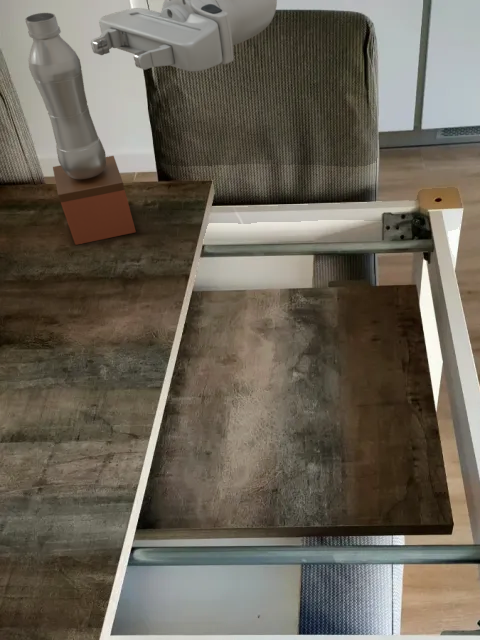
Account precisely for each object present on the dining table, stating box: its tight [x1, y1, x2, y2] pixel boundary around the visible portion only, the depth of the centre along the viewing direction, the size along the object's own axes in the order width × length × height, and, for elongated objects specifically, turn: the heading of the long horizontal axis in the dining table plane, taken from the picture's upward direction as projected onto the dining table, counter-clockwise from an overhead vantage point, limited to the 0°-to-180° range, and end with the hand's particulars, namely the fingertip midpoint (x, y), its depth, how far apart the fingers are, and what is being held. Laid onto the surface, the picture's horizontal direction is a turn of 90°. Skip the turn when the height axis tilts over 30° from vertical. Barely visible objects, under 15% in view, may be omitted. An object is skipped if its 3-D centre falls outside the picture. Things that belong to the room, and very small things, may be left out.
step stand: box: [52, 155, 137, 246], centre depth 98 cm, size 9×9×8 cm
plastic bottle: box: [24, 12, 107, 179], centre depth 88 cm, size 6×7×20 cm
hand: (115, 55), depth 90 cm, fingers open, 8 cm apart
